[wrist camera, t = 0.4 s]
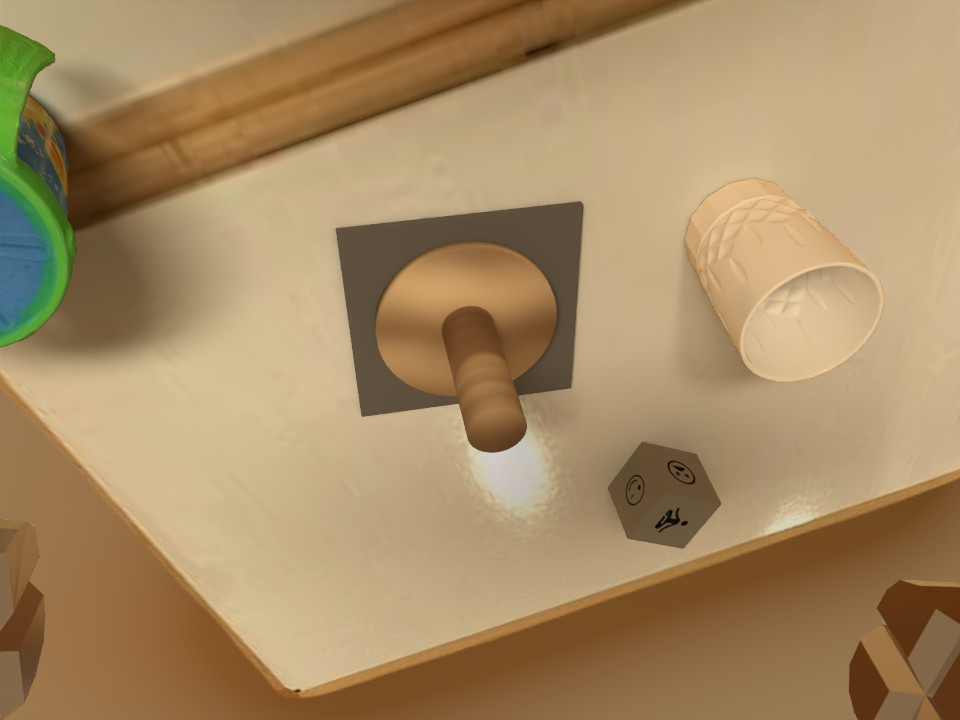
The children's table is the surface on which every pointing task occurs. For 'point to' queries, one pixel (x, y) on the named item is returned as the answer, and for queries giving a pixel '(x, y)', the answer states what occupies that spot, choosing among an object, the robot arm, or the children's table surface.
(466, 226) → the mat
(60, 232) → the snack cup
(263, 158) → the children's table surface
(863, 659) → the robot arm
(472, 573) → the children's table surface
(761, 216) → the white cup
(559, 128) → the children's table surface
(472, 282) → the lid
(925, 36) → the children's table surface
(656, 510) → the dice cube
